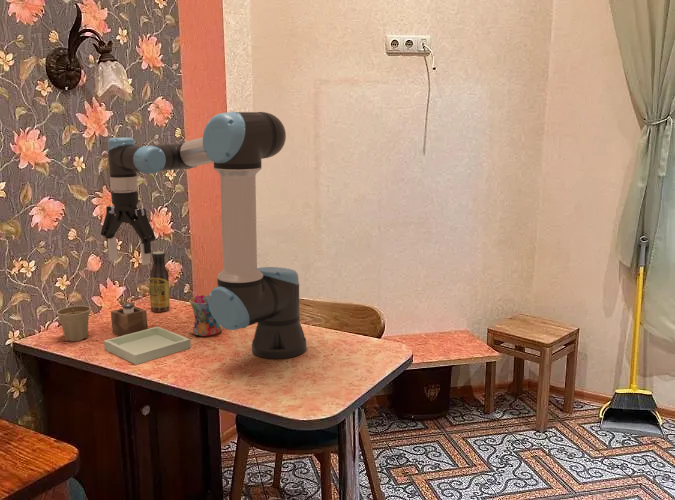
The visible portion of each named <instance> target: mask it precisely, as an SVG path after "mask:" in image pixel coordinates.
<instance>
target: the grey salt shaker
mask: <svg viewBox="0 0 675 500" xmlns="http://www.w3.org/2000/svg"><path fill="white" fill-rule="evenodd" d="M134 306H135V303H134V302H132V301H131V302H124V303H122V304H121V308H123V314H129V313H133V312H134Z"/></svg>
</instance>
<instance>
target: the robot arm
mask: <svg viewBox="0 0 675 500" xmlns="http://www.w3.org/2000/svg"><path fill="white" fill-rule="evenodd" d="M286 139H287V133H286V129H285V126H284V124H283V123H282V121H281V120H280V119H279V118H278V117H277V116H276V115H274V114H272V113H269V112H265V111H258V112H257V111H255V112H254V111H251V112H250V111H246V112H245V111H236V112H235V111H230V112H229V111H227V112H221V113H218V114H216V115H213V116H212V117H211V118H210V120H209V121H208V122H207V124H205V128H204V130H203V134H202V137H198V138H195V139H191V140H186V141H183V142H178V143H169V144H165V143H164V144H152V145H151V144H149V145H136V142H135V139H134V138H133V137H110V138H109V139H108V140H107V151H106V152H107V159H108V160H107V161H108V168H109V169H108V170H109V183H110V190H111V191H112V192H111V194H110V195H111V204H112V205H107V206H106V208H105V209H106V212H105V213H106V214H105V216H104V220H103V224H102V228H101V231H100V236H104V237H105V238H106V239H105V240H106V247H107V249H108V261H113V260H117V259H119V258H118V257H119V256H118V243H117V241H118V239H117V237H116V233H118V230H119V228H120V227H121V225H122V224H123V223H125V224H129V225H130V226H131V227H132V228H133V230H134V231H135V233H136V234H137V236H138V237H139V238H140V240H141V242H140V257H141V266H146V265H150V264H151V252H152V250H151V249H152V247H151V243H152V242H153V241H156V239H157V238H156V236H155V233H154V231H153V228H152V226H151V223H150V221H149V218H148V215H147V209H146V208H144V207H142V208H138V206H137V205H138V204H139V201H140V200H139V191H137V190H138V173H143V174H147V175H149V174H157V173H160V172H165V171H176V170H190V169H193V168H197V167H199V166H202V165H208V164H211V163H212V164H213V169H214V170H215V171H216V172H217V173H218V174H219V176H220V177H219V178H220V179H219V180H220V209H221V239H222V270H221V271H220V272H219V273H218V274H217V276H216V279H217V281H216V282H217V286H215V287H214V288H213V289H212V290H211V291H210V293H209V294H208V295H209V298H208V304H209V309H210V312H211V314H212V316H213V318H214V319H215V320H216V322H217V323H218V324H219V325H220V327H221V328H223V329H225V330H228V331H236V330H239V329H245V328H247V327H248V326H249V327H250V326H252V325H255V324H256V328H255V332H254V337H253V339H252V341H251V349H252V350H251V351H252V353H253V355H255V356H257V357H259V358H263V359H271V360H283V359H291V358H294V357H297V356H298V357H299V356H300V355H302V354H304V353H305V352H306V351H307V349H308V348H307V347H308V346H307V345H308V344H307V343H308V342H307V339H306V338H307V337H305V333H304V331H303V327H302V324H301V322H300V320H301V319H300V315H301V313H300V281H299V274H298V272H297V271H296V270H294V269H293V268H286V267H278V266H264V267H263V266H262V267H258V250H257V249H258V243H257V242H258V241H257V239H258V236H257V194H256V193H257V191H256V189H257V183H256V182H257V181H256V178H257V177H256V175H257V174H258V173H259V171H260V170H262V160H263V159H269V158H271V157H274V156H276V155H277V154H278V153H280V151H281V150H283V147H284V145H285V143H286Z"/></svg>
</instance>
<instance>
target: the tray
mask: <svg viewBox="0 0 675 500" xmlns="http://www.w3.org/2000/svg"><path fill="white" fill-rule="evenodd" d="M103 342H104V343H103V345H104V351H107V352H109V353H111V354H114V355H115V356H117V357H120V358H121V359H123V360H126V361H127V362H129V363H131V364H133V365H136V366H137V365H140V364H143V363H147V362H149V361H152V360H157V359H159V358H162V357H165V356H169V355H172V354H176V353H179V352H183V351H186V350H188V349H191V345H192V344H191V339H190V338H188V337H186V336H183V335H181V334H177V333H176V332H174V331H171V330H167V329H165V328H163V327H160V326H155V327H151V328H148V329H146V330H142V331H138V332H135V333H131V334H127V335H123V336H120V337H119V336H115V337H113V338H109V339H105V340H104V341H103Z"/></svg>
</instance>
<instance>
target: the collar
mask: <svg viewBox="0 0 675 500" xmlns="http://www.w3.org/2000/svg"><path fill="white" fill-rule="evenodd" d="M110 315H111V316H110V317H111V328H112V335H115V336H116V337H120V336H123V335H127V334H131V333H135V332H138V331H142V330H146V329H149V327H148V317H147V316H148V315H147V310H146V309H143V308H140V307H138V306H135V305H134V312H133V313H129V314H123V307H121V308H118V309H115V310H111V311H110Z"/></svg>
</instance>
